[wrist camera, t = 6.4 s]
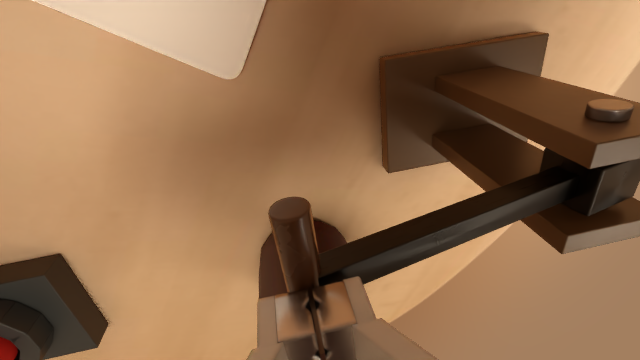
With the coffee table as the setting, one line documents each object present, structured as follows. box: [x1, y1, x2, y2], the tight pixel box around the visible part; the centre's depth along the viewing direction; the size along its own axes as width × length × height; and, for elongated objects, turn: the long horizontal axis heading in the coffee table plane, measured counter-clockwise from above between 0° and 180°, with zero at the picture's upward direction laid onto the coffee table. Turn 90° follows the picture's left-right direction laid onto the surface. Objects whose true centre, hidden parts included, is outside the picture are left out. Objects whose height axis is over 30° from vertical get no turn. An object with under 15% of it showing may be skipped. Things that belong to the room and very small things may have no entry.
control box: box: [0, 254, 108, 360], centre depth 24 cm, size 10×8×4 cm
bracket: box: [379, 32, 640, 254], centre depth 18 cm, size 11×8×13 cm
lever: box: [268, 148, 640, 355], centre depth 12 cm, size 15×6×2 cm, turn 97°
